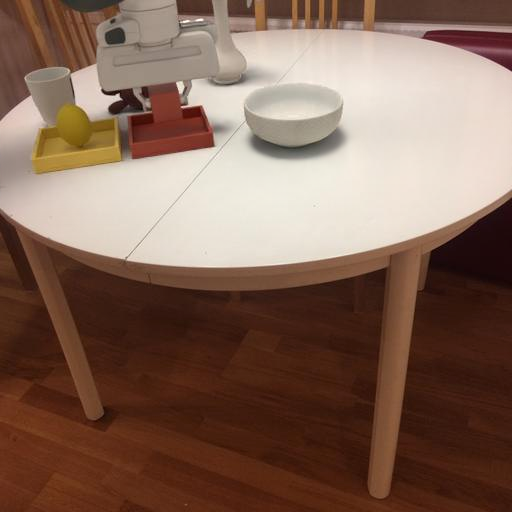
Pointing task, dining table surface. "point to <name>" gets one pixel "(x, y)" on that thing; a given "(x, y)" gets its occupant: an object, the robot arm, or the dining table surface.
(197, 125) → the red tray
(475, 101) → the dining table surface
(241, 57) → the flower vase
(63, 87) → the cup
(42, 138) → the yellow tray
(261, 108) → the cereal bowl
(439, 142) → the dining table surface
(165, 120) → the red block
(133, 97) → the icecream
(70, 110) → the lemon
